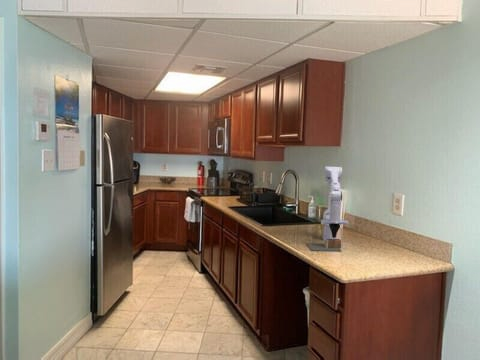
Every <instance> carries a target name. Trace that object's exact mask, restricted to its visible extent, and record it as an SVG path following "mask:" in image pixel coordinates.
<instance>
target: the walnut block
mask: <svg viewBox="0 0 480 360" xmlns="http://www.w3.org/2000/svg"><path fill="white" fill-rule="evenodd" d="M324 244H325V245H324V246H325V247H326V248H339V249H341V248H342V240H341V239H340V238H337V239H325V241H324Z"/></svg>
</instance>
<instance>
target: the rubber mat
mask: <svg viewBox="0 0 480 360" xmlns="http://www.w3.org/2000/svg"><path fill="white" fill-rule="evenodd" d="M305 245H306V247H308V248H309V250H310V251H311V252H335V253H336V252H337V253H338V252H342V250H341V248H326V247H325V246H324V245H325V243H319V242H318V243H313V242H309V243H307V242H306V243H305Z"/></svg>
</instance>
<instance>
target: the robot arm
mask: <svg viewBox="0 0 480 360" xmlns="http://www.w3.org/2000/svg"><path fill="white" fill-rule="evenodd" d="M342 176H343V167H342V166H328V165H327V166H325V167H324V181H326V182H327V184H328V198H327V199H328V203H327V209H326V210H324V211H323V213H322V215H323V216H322V219H320V224H321V225H324V227H323V234H322V235H323V236H322V237H321V239H322V240H323V241H324V242H325V239H338V232H339V229H340V228H341V225H346V226H348V225H349V220H341V211H342V209H341V208H342V201H343V190H342V188H341V183H340V182H341V180H342Z"/></svg>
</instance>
